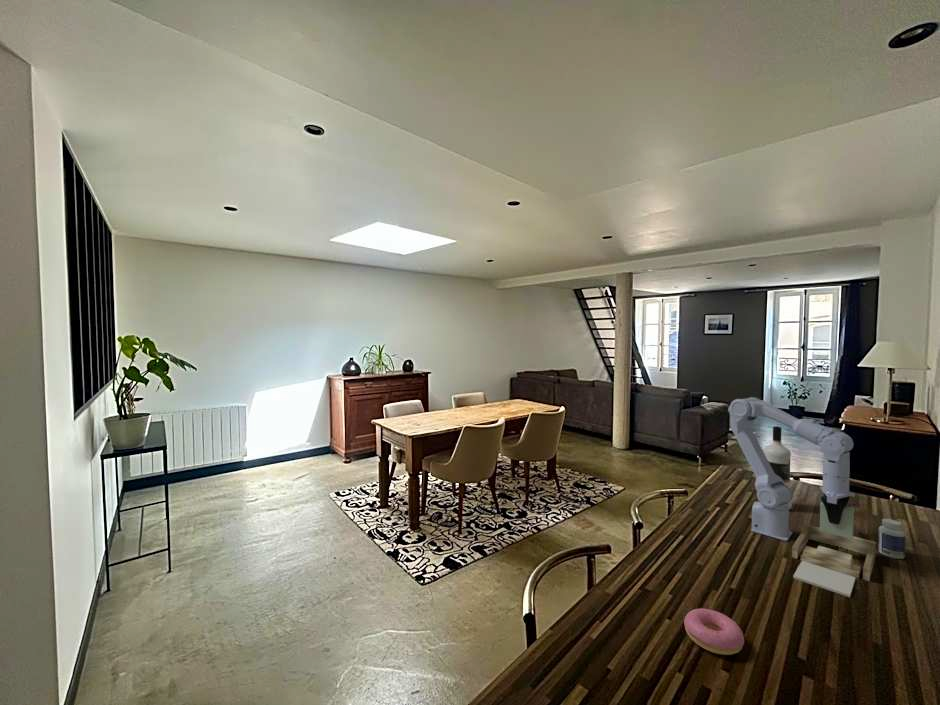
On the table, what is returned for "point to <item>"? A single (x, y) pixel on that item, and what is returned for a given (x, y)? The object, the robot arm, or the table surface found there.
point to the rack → (835, 552)
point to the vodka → (779, 458)
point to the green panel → (844, 526)
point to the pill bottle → (891, 539)
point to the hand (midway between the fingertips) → (835, 521)
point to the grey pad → (825, 578)
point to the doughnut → (714, 631)
